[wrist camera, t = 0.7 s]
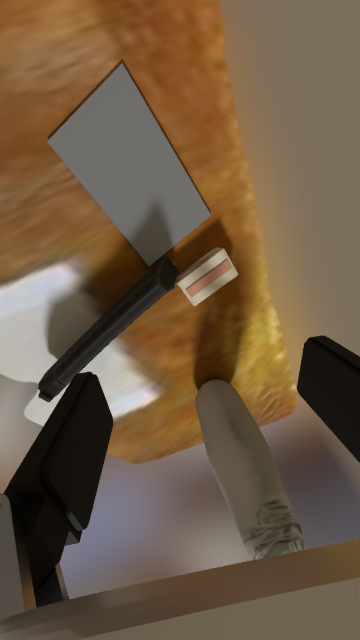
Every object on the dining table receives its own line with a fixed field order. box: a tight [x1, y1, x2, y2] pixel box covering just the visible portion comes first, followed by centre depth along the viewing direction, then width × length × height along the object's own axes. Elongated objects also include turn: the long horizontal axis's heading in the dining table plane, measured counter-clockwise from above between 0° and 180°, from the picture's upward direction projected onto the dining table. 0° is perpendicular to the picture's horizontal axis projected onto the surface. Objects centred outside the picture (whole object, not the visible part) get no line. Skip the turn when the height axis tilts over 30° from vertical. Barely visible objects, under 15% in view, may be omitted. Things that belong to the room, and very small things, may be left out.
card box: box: [176, 247, 239, 306], centre depth 33 cm, size 9×5×5 cm, turn 125°
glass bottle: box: [196, 379, 303, 560], centre depth 34 cm, size 10×10×28 cm
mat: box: [47, 63, 211, 266], centre depth 28 cm, size 13×20×1 cm, turn 37°
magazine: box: [38, 257, 178, 402], centre depth 31 cm, size 17×3×30 cm
